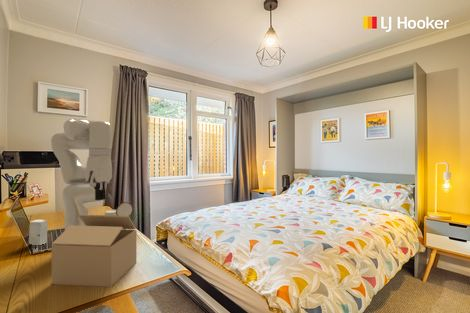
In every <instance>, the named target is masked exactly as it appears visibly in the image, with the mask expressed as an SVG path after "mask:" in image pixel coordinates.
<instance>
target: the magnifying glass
mask: <svg viewBox="0 0 470 313" xmlns="http://www.w3.org/2000/svg"><path fill="white" fill-rule="evenodd" d="M115 210H116V214H117V216H129V217H131V215H132V214H133V212H134V207H133V205H132V204H131V203H130V202H128V201H127V202H126V201H125V202H124V201H123V202H121V203H120V204H118V206H117V207H116V209H115ZM125 230H127V229H125Z"/></svg>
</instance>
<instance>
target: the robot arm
mask: <svg viewBox="0 0 470 313" xmlns="http://www.w3.org/2000/svg"><path fill="white" fill-rule="evenodd" d="M50 144H51V145H50V146H51V149H52V152H53V155H55V157H56V159H57V160H58V162H59V167H60V171H61V176H62V180H63V181H64V183H65V184H66V185H67V186H65V187H64V188H63V189H62V199H63V205H64V231H65V230H66V229H67V228H68V227H69V226H70V225H73V226H86V225H85V224H84V222H83V221H82V220H81V219H80V217H79V216H78V215H90V211H89V209H88V208H87V207H86V206H85V205H84V204H86V203H96V202H100V201H104V200H106V198H107V197H106V195H107V194H106V192H107V191H106V189H107V185H108V184H110V183H111V180H112V178H113V163H112V149H111V148H112V125H111V124H110V123H109V122H107V121H97V120H96V121H95V120H92V119H91V120H90V119H83V118H82V119H81V118H69V119H66V121H65V122H64V123H63V132H57V133H55V134H53V135H52V137H51V138H50ZM71 150H75V151H77V150H78V151H79V150H82V151H84V150H86V151H87V150H88V157H87V159H86V160H87V161H86V164H85V165H83V164H82V163H81V160H80V157H79V156H78V155H77V154H75V153H74V152H73V151H71Z"/></svg>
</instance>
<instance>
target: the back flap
mask: <svg viewBox="0 0 470 313" xmlns="http://www.w3.org/2000/svg"><path fill="white" fill-rule="evenodd" d="M78 216H79V217H80V219H81V220H82V221H83V222H84V224H85V225H86V226H108V227H123V228H122V229H126V230H137V228H136V226H135V224H134V223H133V221H132V219H131V216H113V215H105V214H103V215H102V214H89V215H78Z"/></svg>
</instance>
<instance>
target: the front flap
mask: <svg viewBox="0 0 470 313" xmlns="http://www.w3.org/2000/svg"><path fill="white" fill-rule="evenodd" d="M122 228H123V227H108V226H73V225H70V226H69V227H68V228H67V229H66V230H65V229H64V231H63V232H62V233H61V234H59V236H58V237H57V238H56V239H55V240H54V241H53V242H52V244H57V245H87V246H111V244H112V243H113V241H114V240H115V238H116V237H117V236H118V234H119V233H120V231H121V230H122ZM52 244H51V245H52Z"/></svg>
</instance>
